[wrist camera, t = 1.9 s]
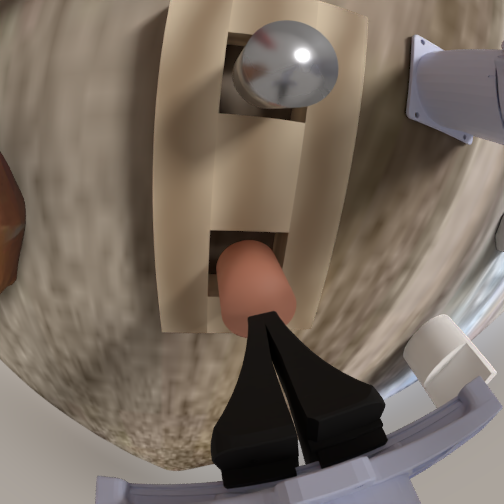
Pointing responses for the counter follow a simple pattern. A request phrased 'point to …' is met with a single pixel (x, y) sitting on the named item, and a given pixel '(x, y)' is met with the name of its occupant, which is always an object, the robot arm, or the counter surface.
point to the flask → (500, 236)
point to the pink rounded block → (252, 285)
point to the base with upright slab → (445, 359)
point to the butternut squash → (10, 225)
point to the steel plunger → (286, 66)
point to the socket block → (247, 158)
